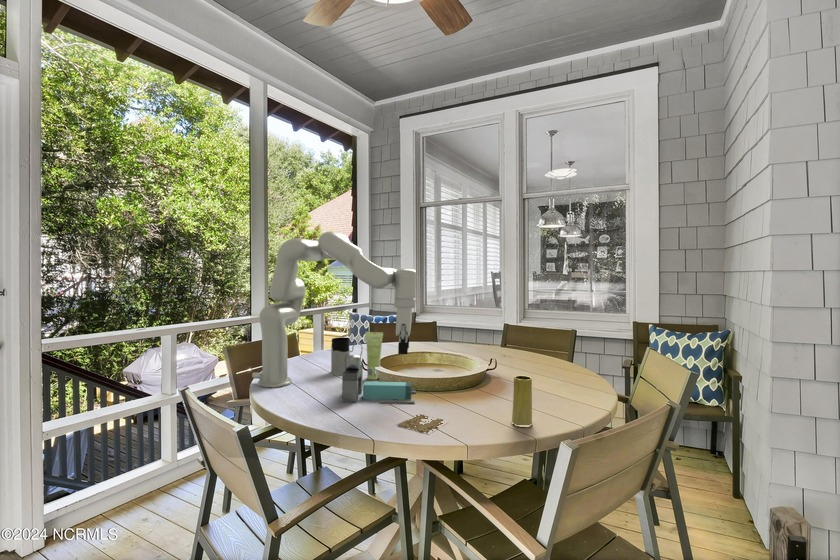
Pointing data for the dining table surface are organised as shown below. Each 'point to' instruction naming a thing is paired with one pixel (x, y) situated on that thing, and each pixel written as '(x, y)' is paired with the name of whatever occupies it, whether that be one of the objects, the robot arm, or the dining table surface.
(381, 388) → the teal rectangular block
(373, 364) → the tube
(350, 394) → the housing
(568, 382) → the dining table surface
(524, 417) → the vase
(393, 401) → the pair of grey rods
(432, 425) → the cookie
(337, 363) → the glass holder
